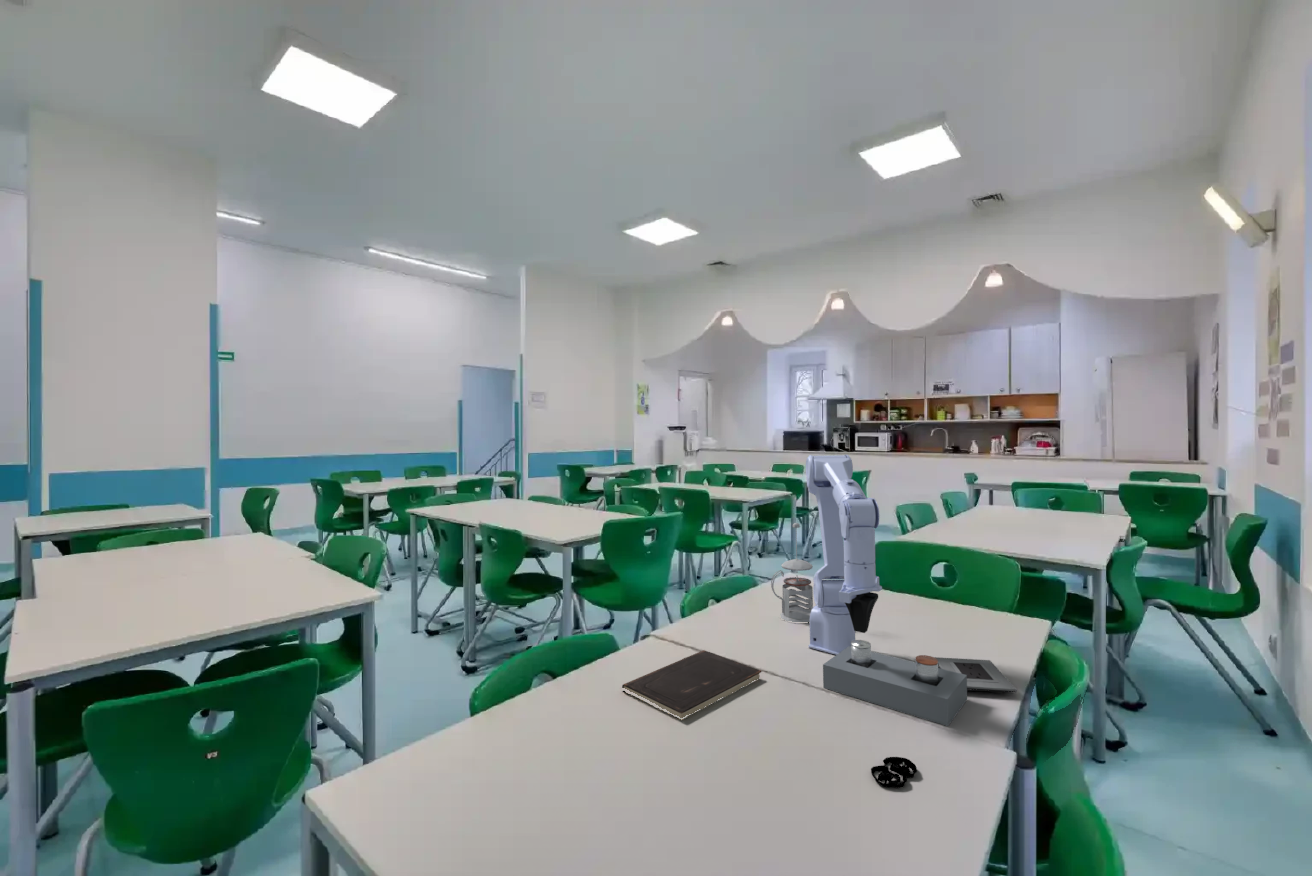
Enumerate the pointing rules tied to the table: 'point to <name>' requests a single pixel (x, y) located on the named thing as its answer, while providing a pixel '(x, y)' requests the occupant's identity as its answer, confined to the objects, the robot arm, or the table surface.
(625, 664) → the table surface
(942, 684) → the console
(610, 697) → the table surface
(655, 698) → the hardcover book
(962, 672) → the electrical outlet
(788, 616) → the french press
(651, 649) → the table surface
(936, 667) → the copper-capped canister
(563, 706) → the table surface
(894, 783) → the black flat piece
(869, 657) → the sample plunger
